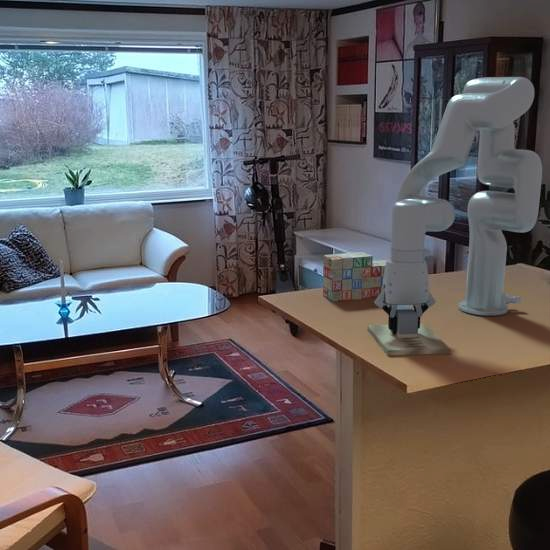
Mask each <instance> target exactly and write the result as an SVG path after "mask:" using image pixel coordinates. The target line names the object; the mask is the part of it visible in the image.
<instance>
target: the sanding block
mask: <svg viewBox="0 0 550 550" xmlns="http://www.w3.org/2000/svg"><path fill="white" fill-rule="evenodd" d="M395 315H396V318H397V332H396V335H397V336H398V337H399V338H408V337H417V327H418V314H417V313H416V312H415V311H414V308H412V307H411V306H410V305H398V306H397V310H396V313H395Z"/></svg>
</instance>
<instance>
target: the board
mask: <svg viewBox="0 0 550 550" xmlns="http://www.w3.org/2000/svg"><path fill="white" fill-rule="evenodd" d="M367 332H368V333H369V334H370V335H371V336H372V337H373V339H374V340H375V341H376V343H377V344H378V345H379V346H380V348H381V350H383V352H384V353H385V354H386V356H391V357H392V356H416V355H439V354H440V355H441V354H442V355H443V354H450V351H451V347H449V346H448V345H447V343H445V342H444V341H443V340H442V339H441V338H440V337H439V336H438V335H436V334H435V333H434V332H433V331H432V330H431V328H430V327H428V325H426V324H425V323H420V328H419V329H418V333H417V337H408V338H399V337H398V336H397V335H396V334H393V333H392V332H391V331H390V330H389V328H388V324H373V325H372V324H370V325H369V324H368V325H367Z"/></svg>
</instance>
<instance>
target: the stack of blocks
mask: <svg viewBox="0 0 550 550" xmlns="http://www.w3.org/2000/svg"><path fill="white" fill-rule="evenodd" d="M387 260H388V259H385V260H373V255H372V254H368V253H366V252H364V251H360V252H358V251H356V252H346V253H335V254H334V253H333V254H324V255H323V266H322V268H323V280H322V281H323V284H322V285H323V289H322V290H323V291H322V296H323V297H324V296H325V297H324V298H325V299H327V298H328V299H327V300H329V299H330V300H332V301H331V302H339V301H338V300H343V301H352V300H353V299H354V300H363V299H371V298H372V297H373V298H377V297H378V296H379V295H380V293H381V292H382V285H383V277H384V270H385V265H386V262H387ZM362 298H363V299H362ZM330 300H329V301H330Z"/></svg>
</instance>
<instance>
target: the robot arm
mask: <svg viewBox="0 0 550 550" xmlns="http://www.w3.org/2000/svg"><path fill="white" fill-rule="evenodd" d="M534 99H535V87H534V84H533V83H532V82H531V81H530V79H528V78H527V77H524V76H502V77H501V76H500V77H498V76H495V77H494V76H493V77H491V76H489V77H488V76H487V77H479V78H478V77H477V78H474V79H471V80H469V81H467V82H466V84H465V85H464V87H463V92H462V93H458V94H456V95H454V96H452V97H451V98H450V99H449V100H448V103H447V104H446V107H445V111H444V113H443V115H442V118H441V122H440V124H439V127H438V131H437V133H436V136H435V139H434V141H433V144H432V147H431V149H430V151H429V153H428V154H427V155H426V156H424V157H423V158H422V159H420V160H419V161H418V162H417V163H416V164H415V165H414V166H413V167H412V168H411V169H410V170H409V172H408V173H407V174H406V175H405V177H404V178H403V181H402V182H401V185H400V187H399V189H398V193H397V197H396V199H395V203H394V204H393V205H392V211H391V232H390V235H391V236H390V237H391V238H390V253H389V254H390V256H389V257H390V259H386V260H387V262H386V265H385V270H384V277H383V285H382V292H381V293H380V295H379V296H378V297H376V299H375V300H374V302H373V303H374V304H375V305H376V306H377V307H378V308H379V309H382V310H383V311H384V312H385V313H386V314H387V316H388V320H387V321H388V324H387V325H388V328H389V330H390V331H391V332H392V333H393V334H396V332H397V318H396V315H395V313H396V310H397V306H398V305H409V306H410V305H412V307H413V308H412V309H413V310H414V311H415V312H416V313H417V314H418V327H417V333H418V329H419V328H420V324H421V318H422V317H423V314H424V313H425V312H426V311H427V310H428V309H429V308H430V307H432V306H433V305H435V304H436V303H437V301H436V299H435V298H434V297H433V295H432V293H431V292H430V289H429V285H430V284H429V283H430V281H429V271H428V264H427V261H426V257H430V256H431V250H430V249H426V248H425V245H426V244H425V243H426V241H425V240H426V238H425V237H426V233H427V232H443V231H445V230H447V229H449V228H450V227H451V226H452V225H453V223H454V221H455V219H456V209H455V207H454V205H453V204H452V203H451V202H450V201H448V200H446V199H443V198H438V197H437V198H436V197H430V196H424V195H423V196H422V195H421V193H422V191H423V190H424V188H425V187H426V186H427V185H428V184H429V183H430V182H431V181H433V180H434V179H435V178H438V177H439V176H442V175H444V174H447V173H449V172H451V171H454V170H456V169H459V168H461V167H463V166H464V165H465V164H466V162H467V160H468V157H469V154H470V151H471V149H472V145H473V143H474V140H475V137H476V135H477V132H478V131H479V140H478V154H477V167H476V168H477V169H476V172H477V179H478V181H479V182H480V183H481V184H483V185H486V186H491V187H501V188H510V189H514V193H513V192H506V191H505V192H504V191H497V190H482V191H478V192H476V193H475V194H473V195H472V196H471V197H470V199H469V201H468V204H467V219H468V227H469V228H468V229H469V230H468V231H469V243H468V255H467V257H468V258H467V269H466V285H465V299H464V300H462V301H460V302H459V303H458V309H459V310H461V311H462V312H463V313H467V314H470V315H475V316H476V315H477V316H484V317H485V316H486V317H488V316H489V317H490V316H502V315H504V314H507V313H508V312H509V311H508V310H509V308H508V305H509V304H520V303H521V296H520V295H511V294H506V293H505V292H504V285H505V278H506V277H505V275H506V262H507V251H508V245H507V244H508V243H507V240H506V237H505V235H504V234H503V231H508V232H513V233H527V232H529V231H531V230H532V229H533V228H534V227H535V226H536V223H537V220H538V215H539V209H540V199H541V191H542V190H541V189H542V179H543V165H542V164H543V163H542V160H541V158H540V156H539V154H538V153H536V152H535V151H533V150H530V149H517V148H515V138H516V137H515V135H516V129H515V128H516V127H515V124H514V121H515V120H518V118H520V117H521V116H522V115H523V116H524V115H525V114H526V112H527V111H528V110H530V108H531V106H532V105H533V102H534ZM384 301H385V303H386V304H385V303H384ZM387 304H388V305H387Z"/></svg>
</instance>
